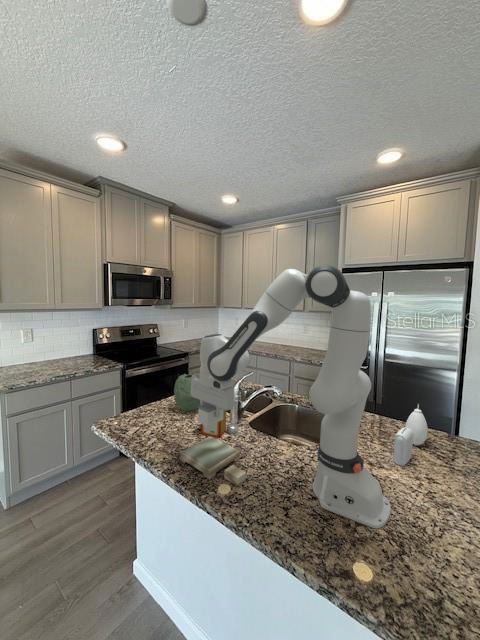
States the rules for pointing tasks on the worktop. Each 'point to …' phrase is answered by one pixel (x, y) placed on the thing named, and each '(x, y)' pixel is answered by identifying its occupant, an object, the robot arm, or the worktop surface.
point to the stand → (209, 456)
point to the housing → (208, 415)
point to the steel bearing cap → (232, 428)
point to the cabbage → (185, 393)
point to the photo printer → (403, 446)
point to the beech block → (235, 475)
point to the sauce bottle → (417, 426)
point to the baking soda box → (215, 428)
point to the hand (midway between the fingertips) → (210, 414)
